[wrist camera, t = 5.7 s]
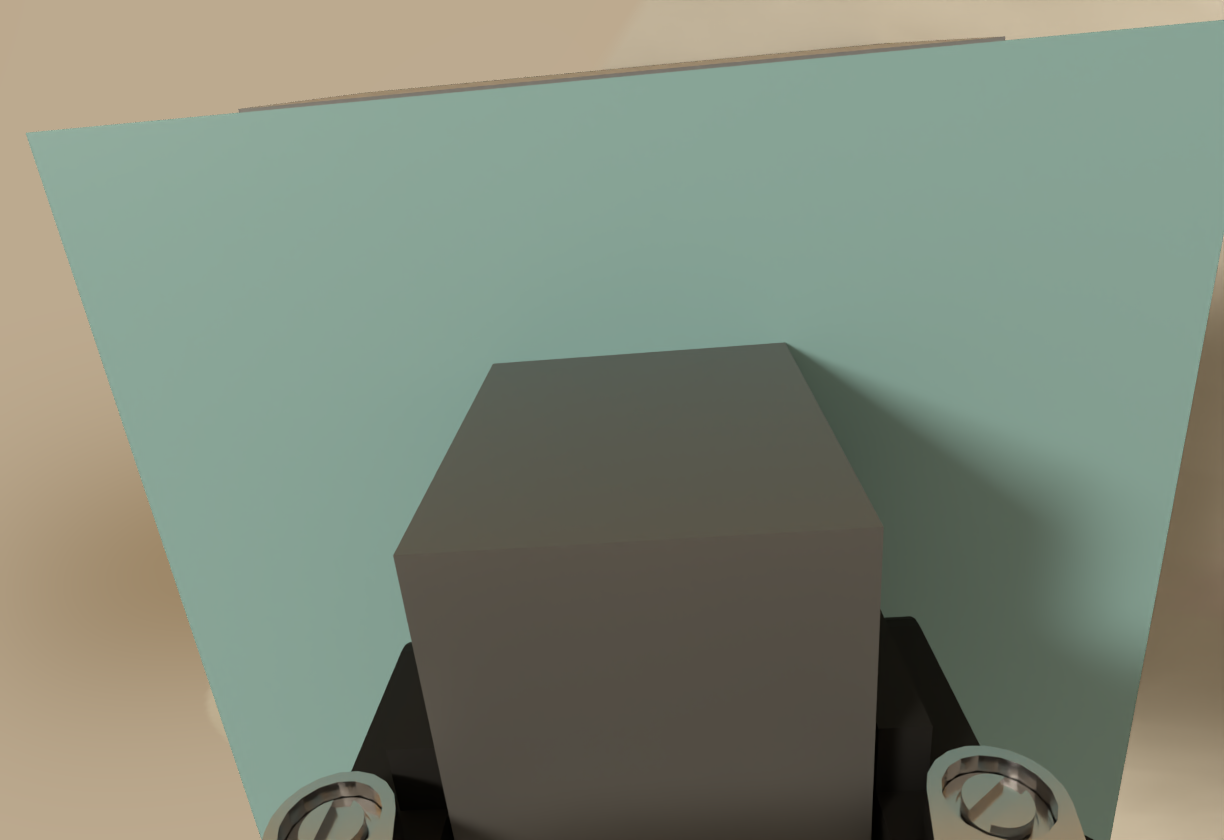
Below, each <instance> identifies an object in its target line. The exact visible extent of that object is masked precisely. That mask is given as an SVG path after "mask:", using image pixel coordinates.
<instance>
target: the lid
mask: <svg viewBox="0 0 1224 840" xmlns="http://www.w3.org/2000/svg"><path fill="white" fill-rule="evenodd" d="M26 135H27V138H28V141H29V144H30V147H31V150H32V153H33V156H34V159H35V162H36V165H37V168H38V171H39V174H40V177H41V180H42V183H43V186H44V189H45V192H46V195H47V198H48V201H49V204H50V207H51V210H52V213H53V216H54V219H55V222H56V225H57V228H58V231H59V234H60V237H61V240H62V243H63V246H64V249H65V252H66V255H67V258H68V261H69V264H70V267H71V270H72V273H73V276H74V279H75V282H76V285H77V288H78V291H79V294H80V297H81V300H82V303H83V306H84V309H85V312H86V315H87V318H88V321H89V324H90V327H91V330H92V333H93V336H94V339H95V342H96V345H97V348H98V351H99V354H100V357H101V360H102V363H103V366H104V369H105V372H106V375H107V378H108V381H109V384H110V387H111V390H112V393H113V396H114V399H115V402H116V405H117V408H118V411H119V414H120V417H121V420H122V423H123V426H124V429H125V432H126V435H127V438H128V441H129V444H130V447H131V450H132V453H133V456H134V459H135V462H136V465H137V468H138V471H139V474H140V477H141V480H142V483H143V486H144V489H145V492H146V495H147V497H148V501H149V504H150V507H151V510H152V513H153V516H154V519H155V522H156V525H157V528H158V531H159V534H160V537H161V540H162V543H163V546H164V549H165V552H166V555H167V558H168V561H169V564H170V567H171V570H172V573H173V576H174V579H175V582H176V585H177V588H178V591H179V594H180V597H181V600H182V603H183V606H184V609H185V612H186V615H187V618H188V621H189V624H190V627H191V630H192V633H193V636H194V639H195V642H196V645H197V648H198V651H199V654H200V657H201V660H202V663H203V666H204V669H205V672H206V675H207V678H208V681H209V684H210V687H211V690H212V693H213V696H214V699H215V702H216V705H217V708H218V711H219V714H220V717H221V720H222V723H223V726H224V729H225V732H226V735H227V738H228V741H229V744H230V747H231V750H232V753H233V756H234V758H235V762H236V765H237V768H238V771H239V774H240V776H241V780H242V783H243V786H244V789H245V792H246V795H247V798H248V801H249V804H250V806H251V809H252V813H253V816H254V819H255V822H256V825H257V827H258V830H259V834H260V836H261V839H262V838H263V834H264V832H265V830H266V827H267V825H268V823H269V821H270V819H271V817H272V815H273V814H274V813H275V812H276V811H277V809H278V808H279V807H280V806H281V805H282V803H283V802H284V801H285V800H286V799H288V798H289V797H290V796H291V795H293V794H294V793H295V792H297V791H298V790H299V789H300V788H302V787H304V786H306V785H308V784H310V783H312V782H313V781H315V780H317V779H319V778H322V777H326V776H329V775H332V774H336V773H339V772H351V770H352V768H353V766H354V763H355V761H356V758H357V756H358V754H359V751H360V749H361V746H362V744H363V742H364V739H365V737H366V735H367V732H368V730H369V727H370V725H371V723H372V720H373V718H374V715H375V713H376V711H377V708H378V706H379V703H380V701H381V699H382V696H383V694H384V692H385V689H386V687H387V684H388V682H389V680H390V677H391V675H392V672H393V670H394V668H395V665H396V663H397V661H398V658H399V656H400V653H401V651H402V649H403V648H404V646H405V645H406V644H407V643H409V642H412V646H413V650H414V655H415V660H416V664H417V669H418V674H419V678H420V683H421V688H422V692H423V697H424V702H425V706H426V711H427V716H428V720H429V725H430V729H431V734H432V739H433V743H434V748H435V753H436V757H437V762H438V767H439V771H440V776H441V781H442V785H443V790H444V794H445V799H446V804H447V808H448V813H449V818H450V822H451V827H452V832H453V836H454V840H871V828H872V803H873V779H874V754H875V729H876V705H877V680H878V655H879V631H880V609H881V611H882V614H883V616H884V618H886V617H906V616H911V617H913V618H915V619H916V621H917V622H918V624H919V625H920V627H921V629H922V631H923V633H924V635H925V637H926V639H927V641H928V643H929V645H930V647H931V649H932V651H933V653H934V655H935V657H936V659H937V661H938V663H939V665H940V667H941V669H942V671H943V673H944V675H945V677H946V679H947V681H948V683H949V685H950V687H951V689H952V691H953V693H954V695H955V697H956V699H957V701H958V703H959V705H960V707H961V709H962V711H963V713H964V714H965V716H966V718H967V720H968V722H969V724H970V726H971V728H972V730H973V732H974V734H975V736H976V738H977V740H978V742H979V744H980V746H991V747H996V748H1001V749H1006V750H1010V751H1012V752H1015V753H1017V754H1020V755H1022V756H1025V757H1027V758H1030V759H1031V760H1033V761H1034V762H1036V763H1037V764H1039V765H1041V766H1042V767H1044V768H1045V769H1047V770H1048V771H1049V772H1050V773H1051V774H1052V775H1053V776H1054V777H1055V778H1056V779H1057V780H1058V781H1059V782H1060V783H1061V784H1062V785H1063V786H1064V787H1065V789H1066V791H1067V793H1068V794H1069V796H1070V798H1071V800H1072V802H1073V804H1074V807H1075V810H1076V812H1077V815H1078V818H1079V821H1080V824H1081V827H1082V830H1083V833H1084V835H1086V836H1088V837H1090V838H1091V839H1093V840H1110V838H1111V833H1112V827H1113V822H1114V816H1115V811H1116V806H1117V800H1118V795H1119V790H1120V784H1121V779H1122V774H1123V768H1124V763H1125V758H1126V752H1127V747H1128V742H1129V736H1130V731H1131V726H1132V720H1133V715H1134V710H1135V704H1136V699H1137V694H1138V688H1139V683H1140V678H1141V672H1142V667H1143V662H1144V656H1145V651H1146V646H1147V640H1148V635H1149V630H1150V624H1151V619H1152V614H1153V608H1154V603H1155V598H1156V592H1157V587H1158V582H1159V576H1160V571H1161V566H1162V560H1163V555H1164V550H1165V544H1166V539H1167V534H1168V528H1169V523H1170V518H1171V512H1172V507H1173V502H1174V496H1175V491H1176V486H1177V480H1178V475H1179V470H1180V464H1181V459H1182V454H1183V448H1184V443H1185V438H1186V432H1187V427H1188V422H1189V416H1190V411H1191V406H1192V400H1193V395H1194V390H1195V384H1196V379H1197V374H1198V368H1199V363H1200V358H1201V352H1202V347H1203V342H1204V336H1205V331H1206V326H1207V320H1208V315H1209V310H1210V304H1211V299H1212V294H1213V288H1214V283H1215V278H1216V272H1217V267H1218V262H1219V256H1220V251H1221V246H1222V240H1223V235H1224V20H1218V21H1207V22H1197V23H1186V24H1175V25H1165V26H1154V27H1144V28H1133V29H1122V30H1112V31H1101V32H1091V33H1080V34H1069V35H1059V36H1048V37H1038V38H1027V39H1016V40H1006V41H995V42H985V43H974V44H963V45H953V46H942V47H932V48H921V49H910V50H900V51H889V52H878V53H868V54H857V55H847V56H836V57H825V58H815V59H804V60H794V61H783V62H772V63H762V64H751V65H741V66H730V67H719V68H709V69H698V70H688V71H677V72H666V73H656V74H645V75H635V76H624V77H613V78H603V79H592V80H581V81H571V82H560V83H550V84H539V85H528V86H518V87H507V88H497V89H486V90H475V91H465V92H454V93H444V94H433V95H422V96H412V97H401V98H391V99H380V100H369V101H359V102H348V103H338V104H327V105H316V106H306V107H295V108H284V109H274V110H263V111H253V112H242V113H232V114H221V115H210V116H200V117H190V118H178V119H168V120H157V121H147V122H136V123H126V124H115V125H104V126H94V127H83V128H73V129H62V130H51V131H41V132H30V133H26Z"/></svg>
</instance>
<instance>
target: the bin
mask: <svg viewBox="0 0 1224 840" xmlns="http://www.w3.org/2000/svg"><path fill="white" fill-rule="evenodd" d="M995 41H1005V37H988V38H971V39H953V40H936V41H919V42H901V43H884V44H873V45H862V46H852V47H841V48H831V49H820V50H810V51H799V52H789V53H778V54H768V55H757V56H746V57H736V58H725V59H715V60H704V61H694V62H683V63H673V64H662V65H652V66H641V67H631V68H620V69H610V70H599V71H589V72H578V73H568V74H557V75H546V76H536V77H526V78H515V79H504V80H494V81H483V82H473V83H464V84H451V85H442V86H431V87H420V88H409V89H400V90H388V91H378V92H368V93H359V94H351V95H343V96H336V97H328V98H321V99H312V100H305V101H298V102H290V103H281V104H274V105H267V106H258V107H250V108H243V109H239V113H242V112H253V111H263V110H274V109H284V108H295V107H306V106H316V105H327V104H338V103H348V102H359V101H369V100H380V99H391V98H401V97H412V96H422V95H433V94H444V93H454V92H465V91H475V90H486V89H497V88H507V87H518V86H528V85H539V84H550V83H560V82H571V81H581V80H592V79H603V78H613V77H624V76H635V75H645V74H656V73H666V72H677V71H688V70H698V69H709V68H719V67H730V66H741V65H751V64H762V63H772V62H783V61H794V60H804V59H815V58H825V57H836V56H847V55H857V54H868V53H878V52H889V51H900V50H910V49H921V48H932V47H942V46H953V45H963V44H974V43H985V42H995Z"/></svg>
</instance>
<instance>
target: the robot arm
mask: <svg viewBox="0 0 1224 840" xmlns="http://www.w3.org/2000/svg"><path fill="white" fill-rule="evenodd" d="M262 840H454V836H453V832H452V827H451V822H450V818H449V813H448V808H447V804H446V799H445V794H444V790H443V785H442V781H441V776H440V771H439V767H438V762H437V757H436V753H435V748H434V743H433V739H432V734H431V729H430V725H429V720H428V716H427V711H426V706H425V702H424V697H423V692H422V688H421V683H420V678H419V674H418V669H417V664H416V660H415V655H414V650H413V646H412V642H409V643H407V644H406V645H405V646H404V648H403V649H402V651H401V653H400V656H399V658H398V661H397V663H396V665H395V668H394V670H393V672H392V675H391V677H390V680H389V682H388V684H387V687H386V689H385V692H384V694H383V696H382V699H381V701H380V703H379V706H378V708H377V711H376V713H375V715H374V718H373V720H372V723H371V725H370V727H369V730H368V732H367V735H366V737H365V739H364V742H363V744H362V746H361V749H360V751H359V754H358V756H357V758H356V761H355V763H354V766H353V768H352V770H351V772H339V773H336V774H332V775H329V776H326V777H322V778H319V779H317V780H315V781H313V782H312V783H310V784H308V785H306V786H304V787H302V788H300V789H299V790H298V791H297V792H295V793H294V794H293V795H291V796H290V797H289V798H288V799H286V800H285V801H284V802H283V803H282V805H281V806H280V807H279V808H278V809H277V811H276V812H275V813H274V814H273V815H272V817H271V819H270V821H269V823H268V825H267V827H266V830H265V832H264V834H263V838H262ZM871 840H1093V839H1091V838H1090V837H1088V836H1086V835H1084V833H1083V830H1082V827H1081V824H1080V821H1079V818H1078V815H1077V812H1076V810H1075V807H1074V804H1073V802H1072V800H1071V798H1070V796H1069V794H1068V793H1067V791H1066V789H1065V787H1064V786H1063V785H1062V784H1061V783H1060V782H1059V781H1058V780H1057V779H1056V778H1055V777H1054V776H1053V775H1052V774H1051V773H1050V772H1049V771H1048V770H1047V769H1045V768H1044V767H1042V766H1041V765H1039V764H1037V763H1036V762H1034V761H1033V760H1031V759H1030V758H1027V757H1025V756H1022V755H1020V754H1017V753H1015V752H1012V751H1010V750H1006V749H1001V748H996V747H991V746H980V744H979V742H978V740H977V738H976V736H975V734H974V732H973V730H972V728H971V726H970V724H969V722H968V720H967V718H966V716H965V714H964V713H963V711H962V709H961V707H960V705H959V703H958V701H957V699H956V697H955V695H954V693H953V691H952V689H951V687H950V685H949V683H948V681H947V679H946V677H945V675H944V673H943V671H942V669H941V667H940V665H939V663H938V661H937V659H936V657H935V655H934V653H933V651H932V649H931V647H930V645H929V643H928V641H927V639H926V637H925V635H924V633H923V631H922V629H921V627H920V625H919V624H918V622H917V621H916V619H915V618H913V617H911V616H906V617H886V618H884V616H883V614H882V611H881V609H880V631H879V655H878V680H877V705H876V729H875V754H874V779H873V803H872V828H871Z"/></svg>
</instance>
